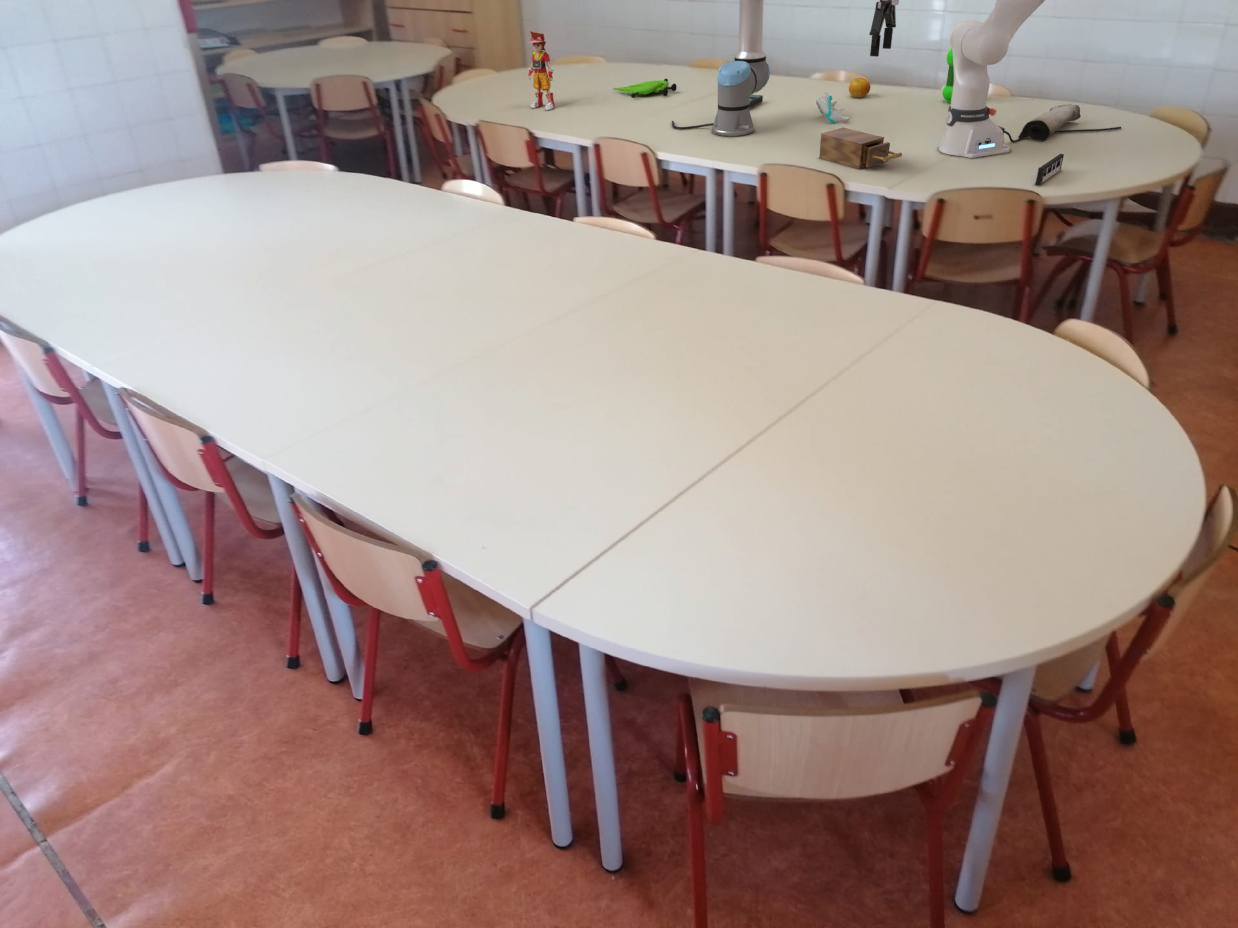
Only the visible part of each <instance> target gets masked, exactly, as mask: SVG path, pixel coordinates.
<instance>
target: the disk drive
mask: <svg viewBox="0 0 1238 928" xmlns="http://www.w3.org/2000/svg"><path fill="white" fill-rule="evenodd" d="M763 100H764V95H761V94H751V95H750V97H749V110H750V109H752V108H753V107H755V106H757V105H759V104H761V103H762V102H763Z"/></svg>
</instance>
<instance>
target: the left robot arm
mask: <svg viewBox="0 0 1238 928" xmlns="http://www.w3.org/2000/svg"><path fill="white" fill-rule="evenodd" d="M764 1H765V0H739V13H738V14H739V16H738V18H739V19H738V51H737V52H736V54H734V60H733V61H730V62H726V63H723V64H721V65H720V67H719V68H718V70H717V111H716V114H715V118H714V120H713V122H711V123H704V124H697V125H690V126H677V125H675V121H674V120H671V126H672V128H674V129H677V130H689V129H691V130H692V129H696V128H697V129H698V128H704V127H712V133H713V134H715V135H717V136H721V137H741V136H746V135H750V134H752V133H754V127H755V126H754V122H753V118H752V115H751V111H750V109H749V97H750V95H754V94H755V93H756V94H757V93H759V92H760V91H761V90H762V89H764V87H766V86H767V84H768V82H769V79H770V76H771V70H770V65H769V64H768V62H767V54H766V52H764V50H763V34H764V33H763V29H764ZM891 2H892V0H887V1H882V0H879V1H876V2H875V9H874V14H873V18H872V22H871V27H870V30H869V33H868V34H869V36H871V42H870V51H869V52H870V54H869V56H870V57H875V58H876V57H879V55H880V46H881V37H882V35H881V32H882V28H883V25H884V23H885V27H884V32H883V40H882V41H883V42H882V49H885V50H891V49H892V43H893V42H892V41H893V34H894V33H893V32H894V28H895V29H896V27H897V24H896V23H897V19H896V18H897V16H896V15H897V14H896V5H892V4H891Z"/></svg>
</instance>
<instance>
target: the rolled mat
mask: <svg viewBox="0 0 1238 928" xmlns="http://www.w3.org/2000/svg"><path fill="white" fill-rule="evenodd" d="M1081 116H1082V115H1081V107H1080V105H1078V104H1072V103H1067V104H1061V105H1054V106H1052V107H1050V108H1049V110H1048V111H1047V112H1045V113H1043V114H1041V115H1038V116H1036V117H1035V118H1033V119H1031V120H1030V121H1028V122H1026V123H1025V124H1024V125H1023V127H1022V129H1021V131H1020V133H1019V135H1018V137H1017V138H1018V139H1020V138H1021V137H1024V136H1028V137H1027V138H1030V139H1032V140H1033V141H1038V142H1045V141H1047V140H1048V139H1049V138H1050V137H1051V136H1053V135H1054V134H1055V133H1054V132H1055V131H1057V130H1059V129H1060V128H1061V127H1062V126H1064V125H1065V124H1066V123H1068V122H1074V121H1077V120H1079V119H1080V118H1081ZM1018 139H1017V140H1018Z"/></svg>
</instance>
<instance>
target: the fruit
mask: <svg viewBox="0 0 1238 928" xmlns="http://www.w3.org/2000/svg"><path fill="white" fill-rule="evenodd" d="M870 91H871V84H870V81H869V80H868V79H867V78H864V77H858V78H854V79H853V80H851V82H850V83H849V85H848V93H849V95H850V96H851V97H853V98H864V97H866V96H868V95H869V93H870Z"/></svg>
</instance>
